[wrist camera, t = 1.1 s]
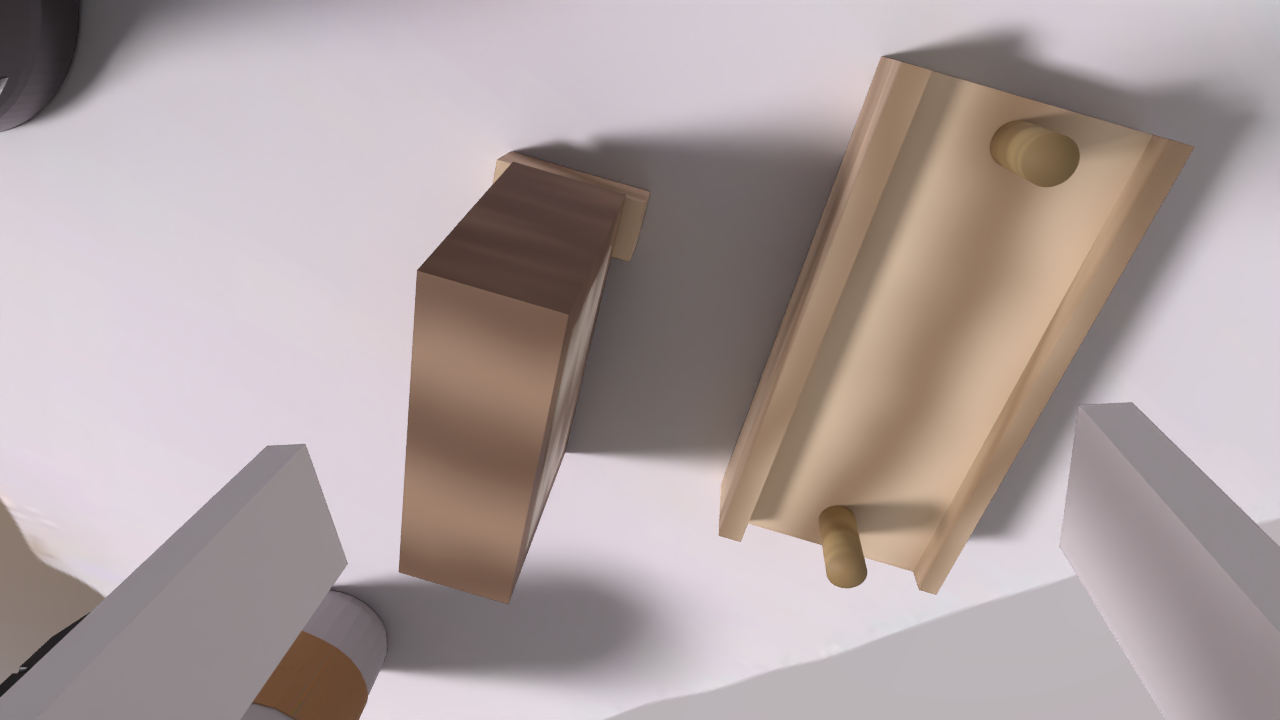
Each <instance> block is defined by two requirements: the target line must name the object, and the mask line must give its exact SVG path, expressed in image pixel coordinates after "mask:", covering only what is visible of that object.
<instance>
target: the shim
mask: <svg viewBox="0 0 1280 720" xmlns="http://www.w3.org/2000/svg"><path fill="white" fill-rule="evenodd" d="M512 162H516V163H520V164H523V165H527V166H530V167H533V168H537V169H540V170H544V171H547V172H551V173H554V174H557V175H561V176H564V177H568V178H571V179H575V180H578V181H581V182H585V183H588V184H592V185H595V186H599V187H602V188H606V189H609V190H612V191H616V192H619V193H623V194H626V196H625V201H624V205H623V209H622V213H621V218H620V222H619V226H618V230H617V234H616V239H615V243H614V247H613V251H612V256H611V257H614V258H618V259H621V260H625V261H628V262H629V261H630V259H631V257H632V254H633V252H634V250H635V248H636V244H637V240H638V236H639V233H640V229H641V225H642V222H643V218H644V214H645V210H646V207H647V203H648V199H649V195H650V192H649V191H646V190H643V189H639V188H636V187H632V186H629V185H625V184H622V183H618V182H615V181H612V180H608V179H605V178H601V177H598V176H594V175H591V174H588V173H584V172H581V171H577V170H574V169H570V168H567V167H563V166H560V165H557V164H553V163H550V162H546V161H543V160H539V159H536V158H532V157H529V156H526V155H522V154H519V153H515V152H512V151H511V152H509V153H508V154H506V155H504V156H502V157H501V158H499V159H497V163H496V168H495V174H494V180H493V184H494V183H495V181H496V180H497V179H498V178H499V177H500V176H501V175H502V174H503V172H504V171H505V170H506V169H507V168H508V167H509V166H510V164H511V163H512Z"/></svg>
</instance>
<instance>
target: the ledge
mask: <svg viewBox="0 0 1280 720" xmlns="http://www.w3.org/2000/svg"><path fill="white" fill-rule="evenodd" d="M1193 149H1194V146H1190V145H1187V144H1183V143H1180V142H1176V141H1173V140H1169V139H1166V138H1162V137H1159V136H1155V135H1152V134H1148V133H1145V132H1141V131H1138V130H1134V129H1131V128H1128V127H1124V126H1121V125H1117V124H1114V123H1110V122H1107V121H1103V120H1100V119H1097V118H1093V117H1090V116H1086V115H1083V114H1079V113H1076V112H1072V111H1069V110H1066V109H1062V108H1059V107H1055V106H1052V105H1048V104H1045V103H1041V102H1038V101H1034V100H1031V99H1028V98H1024V97H1021V96H1017V95H1014V94H1010V93H1007V92H1003V91H1000V90H997V89H993V88H990V87H986V86H983V85H979V84H976V83H972V82H969V81H966V80H962V79H959V78H955V77H952V76H948V75H945V74H941V73H938V72H935V71H932V70H928V69H925V68H922V67H918V66H915V65H911V64H908V63H904V62H901V61H897V60H893V59H889V58H886V57H882V56H881V59H880V62H879V64H878V67H877V70H876V72H875V75H874V78H873V80H872V83H871V86H870V88H869V91H868V94H867V96H866V99H865V102H864V104H863V107H862V110H861V112H860V115H859V118H858V120H857V123H856V126H855V128H854V131H853V134H852V136H851V139H850V142H849V144H848V147H847V150H846V152H845V155H844V158H843V160H842V163H841V166H840V168H839V171H838V174H837V176H836V179H835V182H834V184H833V187H832V190H831V192H830V195H829V198H828V200H827V203H826V206H825V208H824V211H823V214H822V216H821V219H820V222H819V224H818V227H817V230H816V232H815V235H814V238H813V240H812V243H811V246H810V248H809V251H808V254H807V256H806V259H805V262H804V264H803V267H802V270H801V272H800V275H799V278H798V280H797V283H796V286H795V288H794V291H793V294H792V296H791V299H790V302H789V304H788V307H787V310H786V312H785V315H784V318H783V320H782V323H781V326H780V328H779V331H778V334H777V336H776V339H775V342H774V344H773V347H772V350H771V352H770V355H769V358H768V360H767V363H766V366H765V368H764V371H763V374H762V376H761V379H760V382H759V384H758V387H757V390H756V392H755V395H754V398H753V400H752V403H751V406H750V408H749V411H748V414H747V416H746V419H745V422H744V424H743V427H742V430H741V432H740V435H739V438H738V440H737V443H736V446H735V448H734V451H733V454H732V456H731V459H730V462H729V464H728V467H727V470H726V472H725V475H724V478H723V480H722V483H721V496H720V519H719V536H722V537H725V538H729V539H732V540H735V541H739V542H741V540H742V538H743V535H744V533H745V530H746V528H747V525H748V524H752V525H755V526H759V527H762V528H765V529H769V530H772V531H776V532H779V533H783V534H786V535H789V536H793V537H796V538H800V539H803V540H807V541H810V542H813V543H817V544H820V545H822V547H823V554H824V560H825V567H826V573H827V577H828V579H829V581H830V582H831V583H832V584H834V585H835V586H838V587H841V588H853V587H856V586H858V585H860V584H861V583H862V582H863V581H864V580H865V579H866V576H867V568H866V564H865V559H864V557H865V558H868V559H872V560H875V561H879V562H882V563H885V564H889V565H892V566H896V567H899V568H903V569H906V570H909V571H913V573H914V576H915V579H916V582H917V585H918V589H919V590H921V591H925V592H928V593H932V594H935V595H936V594H937V593H938V591H939V589H940V587H941V586H942V584H943V582H944V581H945V579H946V577H947V575H948V574H949V572H950V570H951V568H952V567H953V565H954V563H955V561H956V560H957V558H958V556H959V555H960V553H961V551H962V549H963V548H964V546H965V544H966V542H967V541H968V539H969V537H970V535H971V534H972V532H973V530H974V529H975V527H976V525H977V523H978V522H979V520H980V518H981V516H982V515H983V513H984V511H985V509H986V508H987V506H988V504H989V503H990V501H991V499H992V497H993V496H994V494H995V492H996V490H997V489H998V487H999V485H1000V484H1001V482H1002V480H1003V478H1004V477H1005V475H1006V473H1007V471H1008V470H1009V468H1010V466H1011V464H1012V463H1013V461H1014V459H1015V458H1016V456H1017V454H1018V452H1019V451H1020V449H1021V447H1022V445H1023V444H1024V442H1025V440H1026V438H1027V437H1028V435H1029V433H1030V432H1031V430H1032V428H1033V426H1034V425H1035V423H1036V421H1037V419H1038V418H1039V416H1040V414H1041V412H1042V411H1043V409H1044V407H1045V406H1046V404H1047V402H1048V400H1049V399H1050V397H1051V395H1052V393H1053V392H1054V390H1055V388H1056V386H1057V385H1058V383H1059V381H1060V380H1061V378H1062V376H1063V374H1064V373H1065V371H1066V369H1067V367H1068V366H1069V364H1070V362H1071V360H1072V359H1073V357H1074V355H1075V354H1076V352H1077V350H1078V348H1079V347H1080V345H1081V343H1082V341H1083V340H1084V338H1085V336H1086V334H1087V333H1088V331H1089V329H1090V328H1091V326H1092V324H1093V322H1094V321H1095V319H1096V317H1097V315H1098V314H1099V312H1100V310H1101V308H1102V307H1103V305H1104V303H1105V302H1106V300H1107V298H1108V296H1109V295H1110V293H1111V291H1112V289H1113V288H1114V286H1115V284H1116V282H1117V281H1118V279H1119V277H1120V276H1121V274H1122V272H1123V270H1124V269H1125V267H1126V265H1127V263H1128V262H1129V260H1130V258H1131V256H1132V255H1133V253H1134V251H1135V250H1136V248H1137V246H1138V244H1139V243H1140V241H1141V239H1142V237H1143V236H1144V234H1145V232H1146V230H1147V229H1148V227H1149V225H1150V224H1151V222H1152V220H1153V218H1154V217H1155V215H1156V213H1157V211H1158V210H1159V208H1160V206H1161V204H1162V203H1163V201H1164V199H1165V198H1166V196H1167V194H1168V192H1169V191H1170V189H1171V187H1172V185H1173V184H1174V182H1175V180H1176V178H1177V177H1178V175H1179V173H1180V172H1181V170H1182V168H1183V166H1184V165H1185V163H1186V161H1187V159H1188V158H1189V156H1190V154H1191V152H1192V151H1193Z"/></svg>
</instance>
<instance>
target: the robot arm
mask: <svg viewBox="0 0 1280 720" xmlns="http://www.w3.org/2000/svg"><path fill="white" fill-rule="evenodd" d="M78 14H79V5H78V0H0V132H1V131H5V130H8V129H11V128H13V127H16V126H18V125H20V124H22V123H24V122H25V121H27V120H28V119H30V118H31V117H33V116H34V115H36V114H37V113H38V112H39V111H40V110H41V109H43V108H44V106H45V105H46V104H47V103H48V102H49V101H50V100H51V99H52V97H53V96H54V95H55V93H56V92H57V90H58V89H59V87H60V85H61V84H62V82H63V80H64V78H65V76H66V73H67V71H68V68H69V66H70V63H71V60H72V56H73V53H74V49H75V43H76V38H77V29H78ZM1059 547H1060V548H1061V550H1062V552H1063V553H1064V555H1065V557H1066V558H1067V560H1068V561H1069V563H1070V565H1071V566H1072V568H1073V570H1074V571H1075V573H1076V575H1077V576H1078V578H1079V579H1080V581H1081V583H1082V584H1083V586H1084V587H1085V589H1086V591H1087V592H1088V594H1089V595H1090V597H1091V599H1092V601H1093V602H1094V604H1095V606H1096V607H1097V609H1098V610H1099V612H1100V613H1101V615H1102V617H1103V619H1104V620H1105V622H1106V624H1107V625H1108V627H1109V628H1110V630H1111V632H1112V633H1113V635H1114V636H1115V638H1116V640H1117V642H1118V643H1119V645H1120V646H1121V648H1122V650H1123V651H1124V653H1125V655H1126V656H1127V658H1128V659H1129V661H1130V663H1131V664H1132V666H1133V668H1134V669H1135V671H1136V673H1137V674H1138V676H1139V677H1140V679H1141V681H1142V682H1143V684H1144V686H1145V687H1146V689H1147V691H1148V692H1149V694H1150V695H1151V697H1152V698H1153V700H1154V702H1155V704H1156V705H1157V707H1158V709H1159V710H1160V712H1161V713H1162V715H1163V717H1164V718H1165V720H1280V547H1279V546H1278V545H1277V544H1276V543H1275V542H1274V541H1273V540H1272V539H1271V538H1270V537H1269V536H1268V535H1267V534H1266V533H1265V532H1264V531H1263V530H1262V529H1261V528H1260V527H1259V526H1258V525H1257V524H1256V523H1255V522H1254V521H1253V520H1252V519H1251V518H1250V517H1249V516H1248V515H1247V514H1246V513H1245V512H1244V511H1243V510H1242V509H1241V508H1240V507H1239V506H1238V505H1237V504H1236V503H1235V502H1233V501H1232V500H1231V499H1230V498H1229V497H1228V496H1227V495H1226V494H1225V493H1224V492H1223V491H1222V490H1221V489H1220V488H1219V487H1218V486H1217V485H1216V484H1215V483H1214V482H1213V481H1212V480H1211V479H1210V478H1209V477H1208V476H1207V475H1206V474H1205V473H1204V472H1203V471H1202V470H1201V469H1200V468H1199V467H1198V466H1197V465H1196V464H1195V463H1194V462H1193V461H1192V460H1191V459H1190V458H1189V457H1188V456H1186V455H1185V454H1184V453H1183V452H1182V451H1181V450H1180V449H1179V448H1178V447H1177V446H1176V445H1175V444H1174V443H1173V442H1172V441H1171V440H1170V439H1169V438H1168V437H1167V436H1166V435H1165V434H1164V433H1163V432H1162V431H1161V430H1160V429H1159V428H1158V427H1157V426H1156V425H1155V424H1154V423H1153V422H1152V421H1151V420H1150V419H1149V418H1148V417H1147V416H1146V415H1145V414H1144V413H1143V412H1142V411H1140V410H1139V409H1138V408H1137V407H1136V406H1135V405H1134V404H1133V403H1132V402H1128V403H1108V404H1089V405H1079V408H1078V415H1077V422H1076V430H1075V437H1074V444H1073V451H1072V458H1071V466H1070V473H1069V480H1068V487H1067V495H1066V502H1065V509H1064V516H1063V524H1062V531H1061V538H1060V545H1059ZM347 564H348V563H347V560H346V557H345V554H344V551H343V549H342V546H341V543H340V540H339V537H338V534H337V532H336V529H335V526H334V523H333V520H332V517H331V515H330V512H329V509H328V506H327V503H326V500H325V498H324V495H323V492H322V489H321V486H320V484H319V481H318V478H317V475H316V472H315V469H314V467H313V464H312V461H311V458H310V455H309V452H308V450H307V447H306V444H294V445H274V446H266V447H265V448H264V449H263V450H262V451H261V452H260V453H259V454H258V455H257V456H256V457H255V458H254V459H253V460H252V461H251V462H250V463H248V464H247V465H246V466H245V467H244V468H243V469H242V470H241V471H240V472H239V473H238V474H237V475H236V476H235V477H234V478H233V479H231V480H230V481H229V482H228V483H227V484H226V485H225V486H224V487H223V488H222V489H221V490H220V491H219V492H218V493H217V494H216V495H215V496H213V497H212V498H211V499H210V500H209V501H208V502H207V503H206V504H205V505H204V506H203V507H202V508H201V509H200V510H199V511H198V512H196V513H195V514H194V515H193V516H192V517H191V518H190V519H189V520H188V521H187V522H186V523H185V524H184V525H183V526H182V527H181V528H180V529H178V530H177V531H176V532H175V533H174V534H173V535H172V536H171V537H170V538H169V539H168V540H167V541H166V542H165V543H164V544H163V545H161V546H160V547H159V548H158V549H157V550H156V551H155V552H154V553H153V554H152V555H151V556H150V557H149V558H148V559H147V560H146V561H145V562H143V563H142V564H141V565H140V566H139V567H138V568H137V569H136V570H135V571H134V572H133V573H132V574H131V575H130V576H129V577H128V578H126V579H125V580H124V581H123V582H122V583H121V584H120V585H119V586H118V587H117V588H116V589H115V590H114V591H113V592H112V593H111V594H110V595H108V596H107V597H106V598H105V599H104V600H103V601H102V602H101V603H100V604H99V605H98V606H97V607H96V608H95V609H94V610H93V611H91V612H90V613H88V614H87V615H85V616H84V617H82V618H81V619H79V620H77V621H76V622H74V623H73V624H71V625H70V626H68V627H67V628H65V629H64V630H62V631H61V632H59V633H57V634H56V635H54V636H53V637H52V638H50V639H49V640H48V641H47V642H46V643H45V644H44V645H43V646H42V647H41V648H40V649H39V650H38V651H36V652H35V653H34V654H33V655H32V656H31V657H30V658H29V659H28V660H27V661H26V662H25V663H24V664H22V665H21V666H20V667H19V672H18V673H15V674H12V675H11V676H9V677H8V678H7V679H6V680H5V681H4V682H3V683H2V684H1V685H0V720H240V719H241V718H242V716H243V715H244V714H245V712H246V711H247V709H248V708H249V706H250V705H251V703H252V702H253V701H254V699H255V698H256V696H257V695H258V693H259V692H260V690H261V689H262V687H263V686H264V685H265V683H266V682H267V680H268V679H269V677H270V676H271V674H272V673H273V672H274V670H275V669H276V667H277V666H278V664H279V663H280V661H281V660H282V658H283V657H284V656H285V654H286V653H287V651H288V650H289V648H290V647H291V645H292V644H293V643H294V641H295V640H296V638H297V637H298V635H299V634H300V632H301V631H302V629H303V628H304V627H305V625H306V624H307V622H308V621H309V619H310V618H311V616H312V615H313V614H314V612H315V611H316V609H317V608H318V606H319V605H320V603H321V602H322V600H323V599H324V598H325V596H326V595H327V593H328V592H329V590H330V589H331V587H332V586H333V585H334V583H335V582H336V580H337V579H338V577H339V576H340V574H341V573H342V571H343V570H344V569H345V567H346V566H347Z"/></svg>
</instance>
